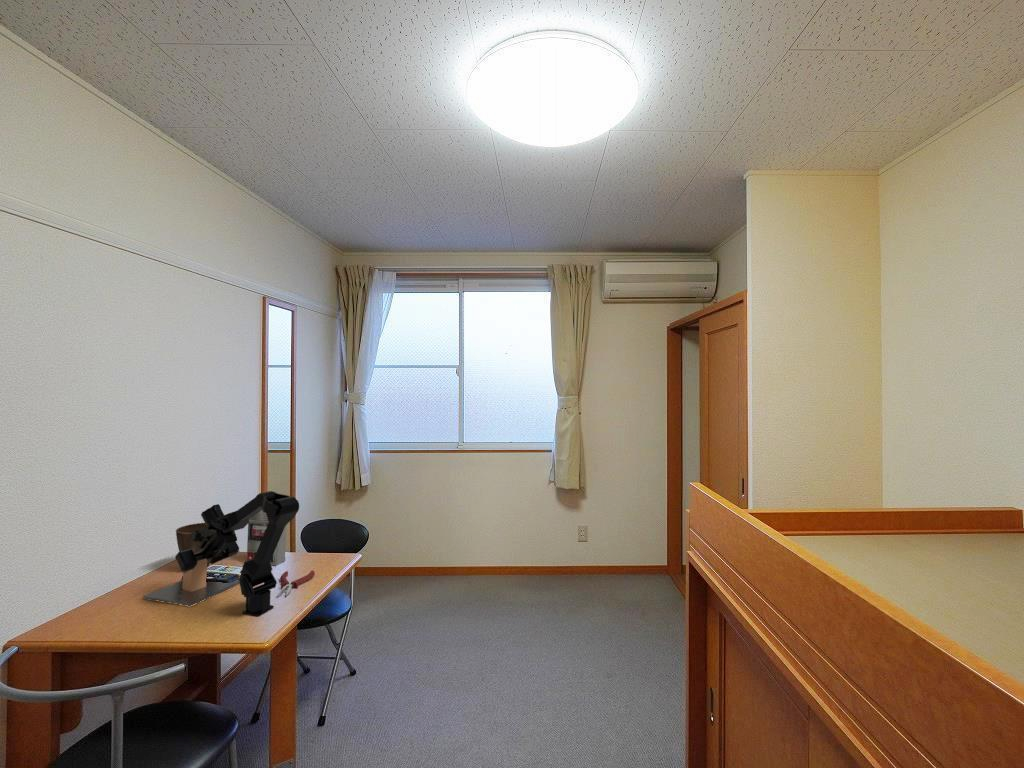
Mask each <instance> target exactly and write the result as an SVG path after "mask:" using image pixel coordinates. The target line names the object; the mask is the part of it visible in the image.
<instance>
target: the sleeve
mask: <svg viewBox="0 0 1024 768" xmlns="http://www.w3.org/2000/svg"><path fill="white" fill-rule="evenodd" d="M196 554H197V553H196ZM207 570H208V568H207V559H203V560H200V561H197V565H196V566H195V568H194V569H192V570H190V571H188V572H186V573H183V572H182V580H183V585H182V589H184V590H187V591H190V592H192V591H195V590H198V589H201V588H203V587H206V578H207V575H208V574H207V573H208V571H207Z"/></svg>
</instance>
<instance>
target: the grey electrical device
mask: <svg viewBox="0 0 1024 768" xmlns="http://www.w3.org/2000/svg"><path fill="white" fill-rule="evenodd" d="M268 523H269V521H268V518H267V513H265V512H263V510H261V511H260V512H258V513H257V514H255V515H254V516H253V517H251V518H250V519H249V523H248V524H247V542H246V543H247V546H246V559H245V560H244V563H245V562H246V561H249V560H252V559H254V557H255V554H256V552H257V550H258V547H259V545H260V542H261V540H262V538H263V535H264V533H265V530H266V528H267V525H268ZM286 538H287V525H286V526H285V528H284V530H283V532H282V535H281V537H280V540H279V542H278V544H277V547H276V549H275V551H274V554H273V556H272V559H271V561H270V564H271V566H278V565H279V564H282V563H283V562H285V561H286V542H287V541H286Z"/></svg>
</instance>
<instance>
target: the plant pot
mask: <svg viewBox="0 0 1024 768" xmlns="http://www.w3.org/2000/svg"><path fill="white" fill-rule="evenodd" d="M205 527H207V526H206V524H205V522H200V523H199V522H198V523H192V524H188V525H184V526H180V527H178V528H176V529H175V536H176V542H177V543H176V544H177V547H178V552H180V551H184V550H187V549H192V551H193V553H194V554H196V553H200V552H201V548H200V549H199V547H198V545H199V544H200V543H198V542H197V541H195V542H193V541H192V540H191V539H190V535H191V533H192V532H193V531H196V530H197V529H200V528H205ZM214 531H215V530H214ZM210 561H211V559H208V560H207V567H208V568H209V566H210V565H211V563H210Z"/></svg>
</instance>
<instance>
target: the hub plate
mask: <svg viewBox="0 0 1024 768" xmlns="http://www.w3.org/2000/svg"><path fill="white" fill-rule="evenodd" d="M182 585H183V579H182V580H180V581H177V582H175V583H172V584H169V585H167V586H164V587H162V588H159V589H158V590H155V591H151V592H149V593H147V594H145V595H142V599H143V598H145V599H151V600H159V601H164V602H171V603H177V604H182V605H188V606H191V605H193V604H195V603H198V602H200V601H202V600H204V599H206V600H208V599H207V598H209V597H211V598H213V597H214V595H215V596H217V595H219V594H222V593H223V592H226V591H227V590H230V589H231V588H234V587H236V586H238V585H240V582H239V579H237V580H235V581H234V582H231V583H222V582H206V587H203V588H201V589H198V590H195V591H192V592H190V591H187V590H184V589H182ZM212 596H213V597H212ZM145 599H144V600H145ZM209 599H210V598H209ZM151 600H150V601H151ZM204 601H205V600H204ZM202 602H203V601H202ZM200 603H201V602H200ZM198 604H199V603H198Z"/></svg>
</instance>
